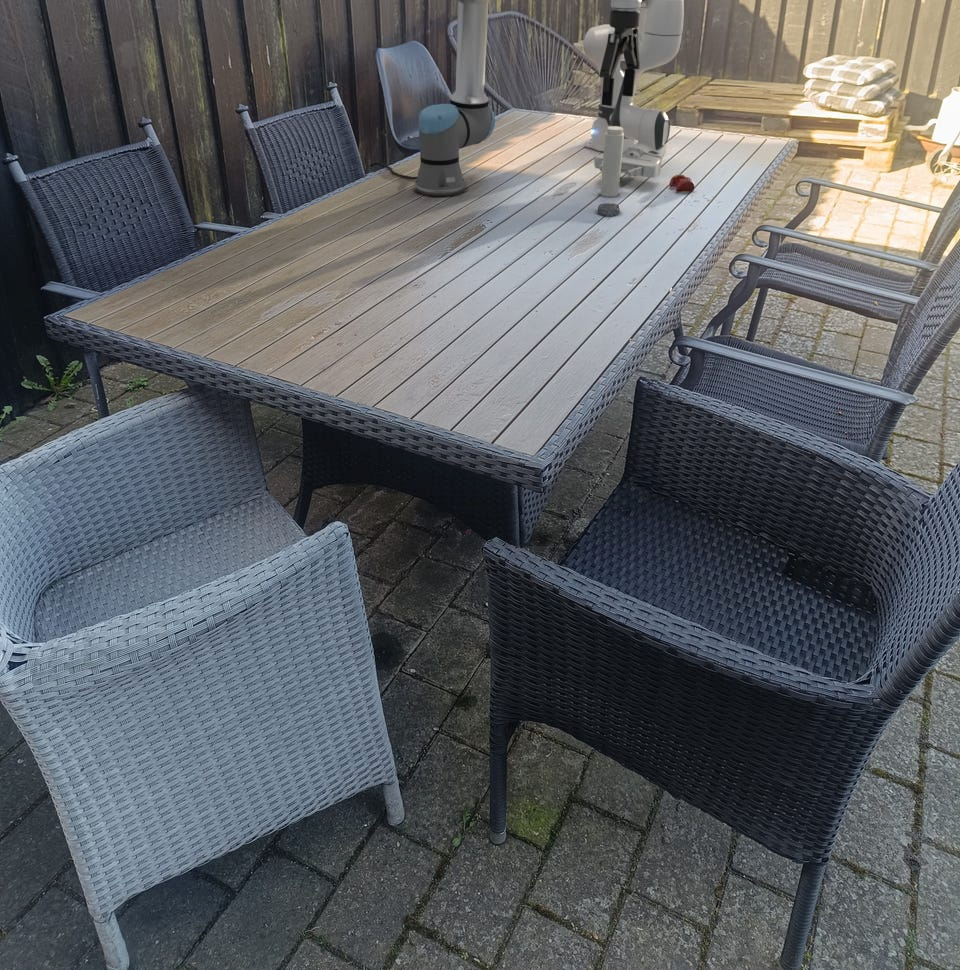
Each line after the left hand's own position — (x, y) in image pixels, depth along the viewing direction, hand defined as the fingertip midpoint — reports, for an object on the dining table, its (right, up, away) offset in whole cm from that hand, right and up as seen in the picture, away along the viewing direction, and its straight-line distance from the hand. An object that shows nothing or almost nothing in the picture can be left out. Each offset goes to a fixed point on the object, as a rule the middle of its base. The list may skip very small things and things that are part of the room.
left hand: (617, 100), depth 223 cm
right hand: (+5, -7, +31) cm, 32 cm away
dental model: (+25, -11, +35) cm, 45 cm away
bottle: (+3, -14, +31) cm, 35 cm away
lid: (0, -23, +16) cm, 28 cm away
